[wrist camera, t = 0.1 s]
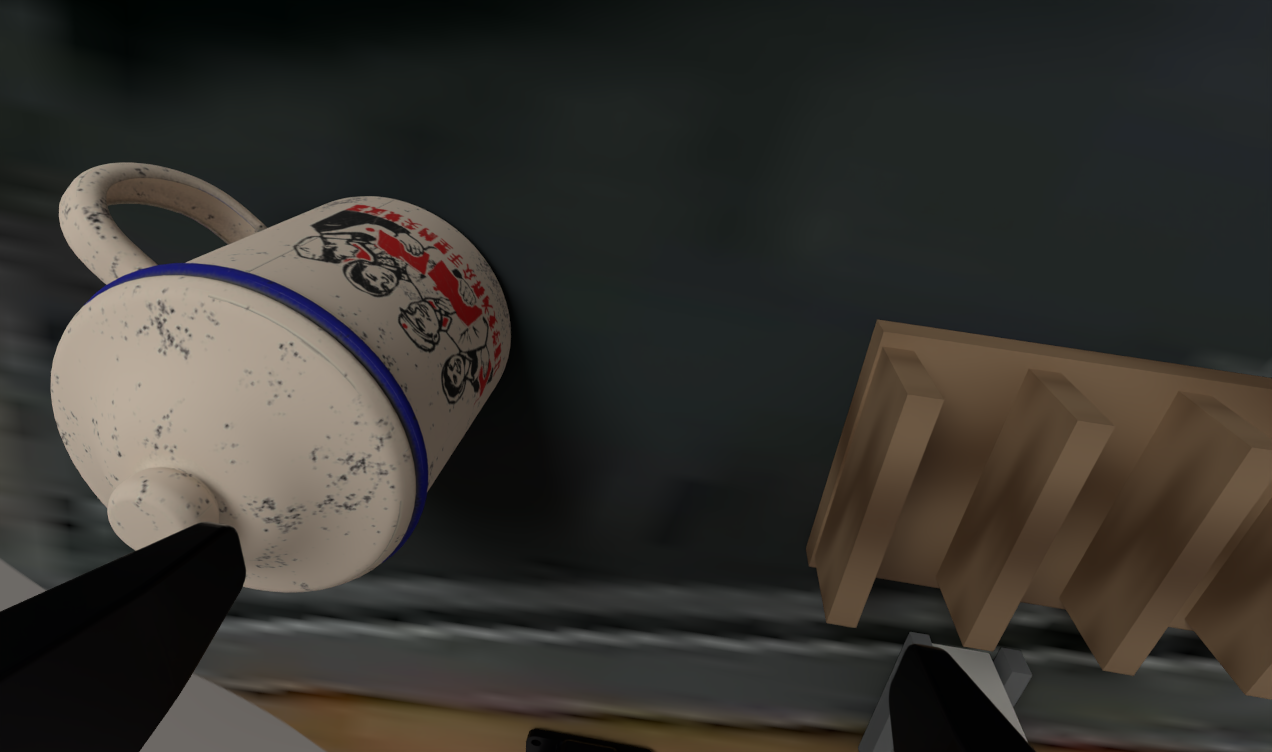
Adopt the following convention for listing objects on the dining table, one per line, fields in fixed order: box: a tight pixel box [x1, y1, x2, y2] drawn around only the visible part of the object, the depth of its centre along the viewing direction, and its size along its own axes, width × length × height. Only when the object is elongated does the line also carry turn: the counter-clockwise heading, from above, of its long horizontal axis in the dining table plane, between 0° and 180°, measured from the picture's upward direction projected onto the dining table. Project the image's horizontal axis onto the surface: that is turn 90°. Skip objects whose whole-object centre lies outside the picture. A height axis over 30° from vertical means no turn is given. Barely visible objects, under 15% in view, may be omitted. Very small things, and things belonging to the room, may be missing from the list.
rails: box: [858, 632, 1032, 752], centre depth 29 cm, size 8×5×1 cm, turn 173°
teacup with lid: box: [51, 163, 511, 592], centre depth 18 cm, size 12×9×12 cm
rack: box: [806, 320, 1272, 699], centre depth 22 cm, size 10×15×4 cm, turn 83°
